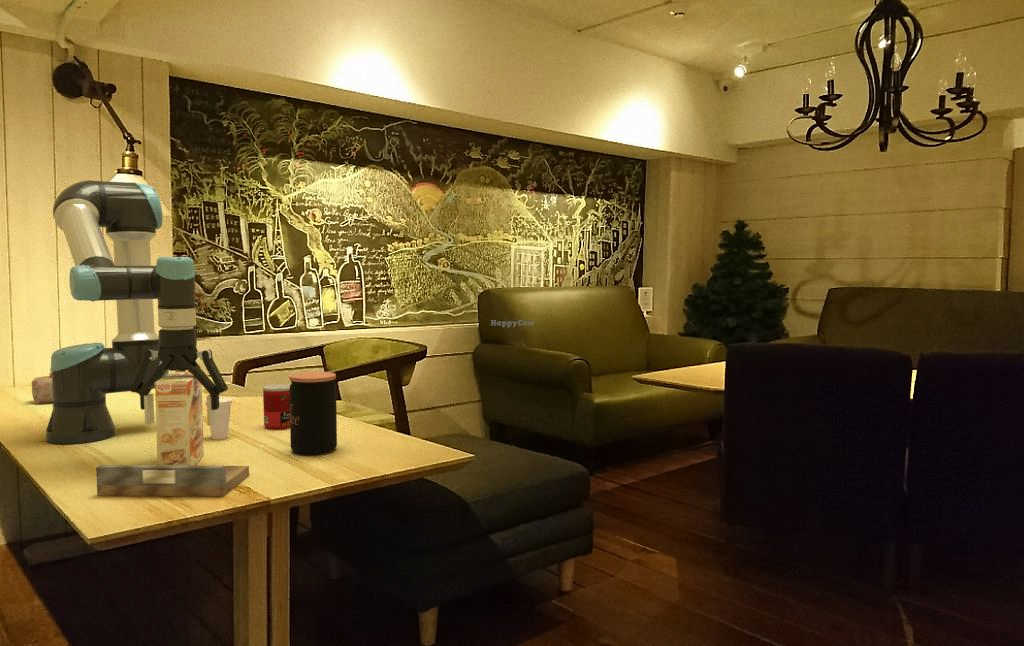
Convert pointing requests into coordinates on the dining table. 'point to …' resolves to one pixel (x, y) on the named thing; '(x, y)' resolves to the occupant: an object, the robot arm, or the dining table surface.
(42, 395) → the food item
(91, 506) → the dining table surface
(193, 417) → the coffeecake box
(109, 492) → the shelf board
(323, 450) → the coffee jar
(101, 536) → the dining table surface
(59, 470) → the dining table surface
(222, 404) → the smoothie
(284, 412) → the canned food
